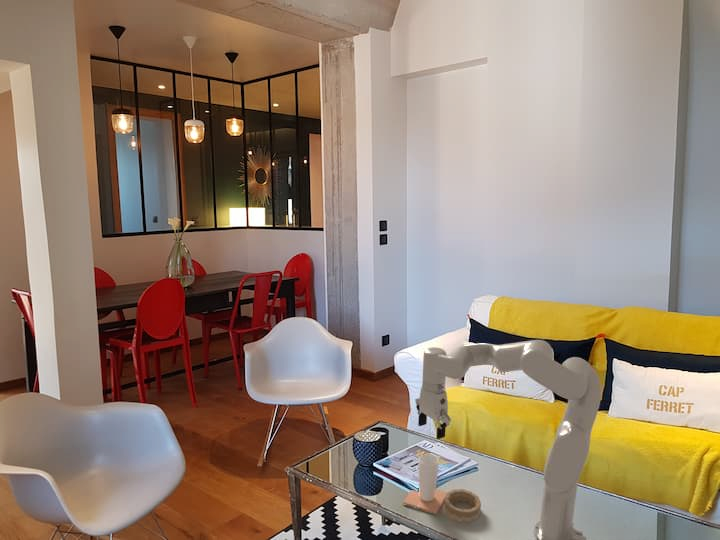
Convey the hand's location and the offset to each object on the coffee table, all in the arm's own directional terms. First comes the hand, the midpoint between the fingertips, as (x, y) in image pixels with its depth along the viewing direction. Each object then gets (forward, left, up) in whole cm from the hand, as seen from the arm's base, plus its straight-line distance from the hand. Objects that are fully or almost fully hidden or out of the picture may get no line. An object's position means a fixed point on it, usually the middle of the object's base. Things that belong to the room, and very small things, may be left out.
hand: (431, 431), depth 189 cm
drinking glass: (0, +1, -26) cm, 26 cm away
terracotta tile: (+1, +1, -26) cm, 26 cm away
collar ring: (-12, +1, -26) cm, 29 cm away
